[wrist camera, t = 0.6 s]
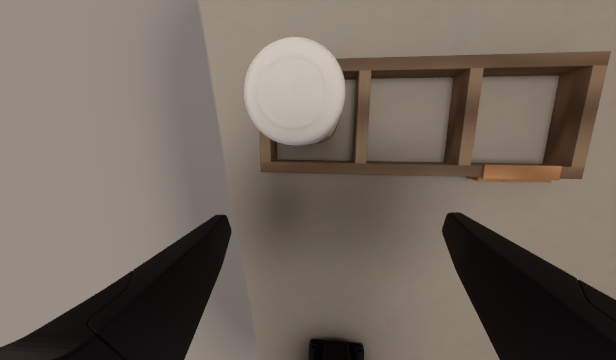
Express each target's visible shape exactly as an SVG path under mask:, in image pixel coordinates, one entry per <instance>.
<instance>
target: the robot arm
mask: <svg viewBox="0 0 616 360" xmlns="http://www.w3.org/2000/svg"><path fill="white" fill-rule="evenodd" d="M442 233H443V236H444V239H445V242H446V245H447V247H448V250H449V253H450V256H451V258H452V261H453V264H454V267H455V269H456V271H457V274H458V276H459V278H460V280H461V282H462V284H463V286H464V288H465V290H466V292H467V294H468V296H469V298H470V300H471V302H472V304H473V306H474V308H475V310H476V312H477V314H478V316H479V318H480V320H481V322H482V324H483V326H484V328H485V330H486V332H487V335H488V337H489V339H490V341H491V343H492V345H493V347H494V349H495V351H496V353H497V355H498V357H499V359H500V360H616V300H615V299H613V298H611V297H609V296H608V295H606V294H604V293H602V292H600V291H598V290H597V289H595V288H593V287H591V286H590V285H588V284H586V283H584V282H583V281H581V280H577V278H575V277H574V276H572V275H570V274H568V273H566V272H565V271H563V270H561V269H559V268H558V267H556V266H554V265H552V264H550V263H549V262H547V261H545V260H543V259H542V258H540V257H538V256H536V255H535V254H533V253H531V252H529V251H527V250H526V249H524V248H522V247H520V246H519V245H517V244H515V243H513V242H511V241H510V240H508V239H506V238H504V237H503V236H501V235H499V234H497V233H495V232H494V231H492V230H490V229H488V228H487V227H485V226H483V225H481V224H480V223H478V222H476V221H474V220H472V219H471V218H469V217H467V216H465V215H464V214H462V213H448V214H447V216H446V218H445V222H444V225H443V228H442ZM230 236H231V227H230V224H229V221H228V218H227V216H226V215H215V216H214V217H212V218H211V219H209V220H208V221H206V222H205V223H203V224H202V225H200V226H199V227H197V228H196V229H194V230H193V231H191V232H190V233H188V234H187V235H185V236H184V237H182V238H181V239H179V240H178V241H176V242H175V243H173V244H172V245H170V246H169V247H167V248H166V249H164V250H163V251H161V252H160V253H158V254H157V255H155V256H154V257H152V258H151V259H149V260H148V261H146V262H145V263H143V264H142V265H140V266H139V267H137V268H136V269H134V270H133V271H131V272H129V273H128V274H127V275H125V276H124V277H122V278H121V279H119V280H118V281H116V282H114V283H113V284H111V285H110V286H108V287H107V288H105V289H104V290H102V291H100V292H99V293H97V294H95V295H94V296H92V297H91V298H89V299H87V300H86V301H84V302H83V303H81V304H79V305H77V306H76V307H74V308H72V309H71V310H69V311H67V312H66V313H64V314H62V315H61V316H59V317H57V318H56V319H54V320H52V321H51V322H49V323H48V324H46V325H44V326H43V327H41V328H39V329H37V330H36V331H34V332H32V333H30V334H29V335H27V336H25V337H23V338H21V339H19V340H17V341H15V342H12V343H10V344H8V345H5V346H3V347H0V360H184V359H185V356H186V354H187V351H188V349H189V346H190V344H191V342H192V339H193V337H194V334H195V332H196V329H197V327H198V324H199V322H200V319H201V317H202V314H203V312H204V309H205V307H206V305H207V302H208V300H209V297H210V295H211V292H212V289H213V287H214V285H215V282H216V280H217V277H218V275H219V272H220V270H221V267H222V264H223V261H224V257H225V254H226V250H227V247H228V243H229V240H230ZM312 344H314V345H312ZM309 360H364V347H363V345H362V344H355V343H345V342H335V341H324V340H310V343H309Z"/></svg>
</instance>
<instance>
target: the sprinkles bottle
mask: <svg viewBox="0 0 616 360" xmlns="http://www.w3.org/2000/svg"><path fill="white" fill-rule="evenodd" d="M345 94H346V89H345V80H344V75H343V72H342V70H341V67H340V65H339V63H338V62H337V60H336V59H335V57H334V56H333V55H332V54H331V52H330V51H329V50H328V49H326V48H325V47H324V46H322V45H321V44H319V43H317V42H316V41H313V40H311V39H307V38H302V37H287V38H283V39H279V40H277V41H274V42H273V43H271V44H269V45H267V46H266V47H265V48H264V49H262V50H261V51H260V52H259V53H258V55H257V56H256V57H255V58H254V60H253V61H252V63H251V65H250V66H249V69H248V71H247V74H246V77H245V84H244V101H245V105H246V109H247V112H248V114H249V117H250V118H251V120H252V122H253V123H254V125H255V126H256V127H257V128H258V130H259V131H260V132H261V133H263V134H264V135H265V136H266V137H268V138H269V139H271V140H273V141H275V142H278V143H281V144H285V145H291V146H303V145H309V144H312V143H321V142H324V141H326V140H328V139H329V138H330V137H331V136H332V135H333V133H334V131H335V129H336V127H337V123H338V121H339V119H340V117H341V114H342V111H343V108H344V103H345Z"/></svg>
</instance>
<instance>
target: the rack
mask: <svg viewBox="0 0 616 360" xmlns="http://www.w3.org/2000/svg"><path fill="white" fill-rule="evenodd" d="M610 52H611V51H602V52H566V53H530V54H493V55H457V56H420V57H384V58H348V59H336V60H337V62H338V63H339V65H340V67H341V70H342V72H343V75H344V79H356V93H355V116H354V139H353V161H326V160H277V142H275V141H273V140H271V139H269V138H268V137H266V136H265V135H264V134H263V133H261V132H260V161H261V172H291V173H335V174H379V175H424V176H466V178H470V179H474V180H478V181H517V182H551V180H559V179H582V176H583V172H584V167H585V163H586V158H587V154H588V150H589V145H590V141H591V136H592V132H593V127H594V123H595V119H596V114H597V110H598V105H599V101H600V97H601V92H602V88H603V83H604V79H605V75H606V70H607V66H608V61H609V57H610ZM537 75H560V80H559V85H558V90H557V95H556V100H555V106H554V111H553V116H552V121H551V126H550V131H549V136H548V142H547V147H546V152H545V157H544V162H543V164H503V163H471V158H472V151H473V143H474V136H475V129H476V121H477V114H478V107H479V99H480V92H481V85H482V77H483V76H537ZM429 77H454V81H453V90H452V98H451V107H450V116H449V124H448V133H447V141H446V150H445V159H444V162H385V161H366V160H367V141H368V123H369V104H370V86H371V79H375V78H429Z"/></svg>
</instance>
